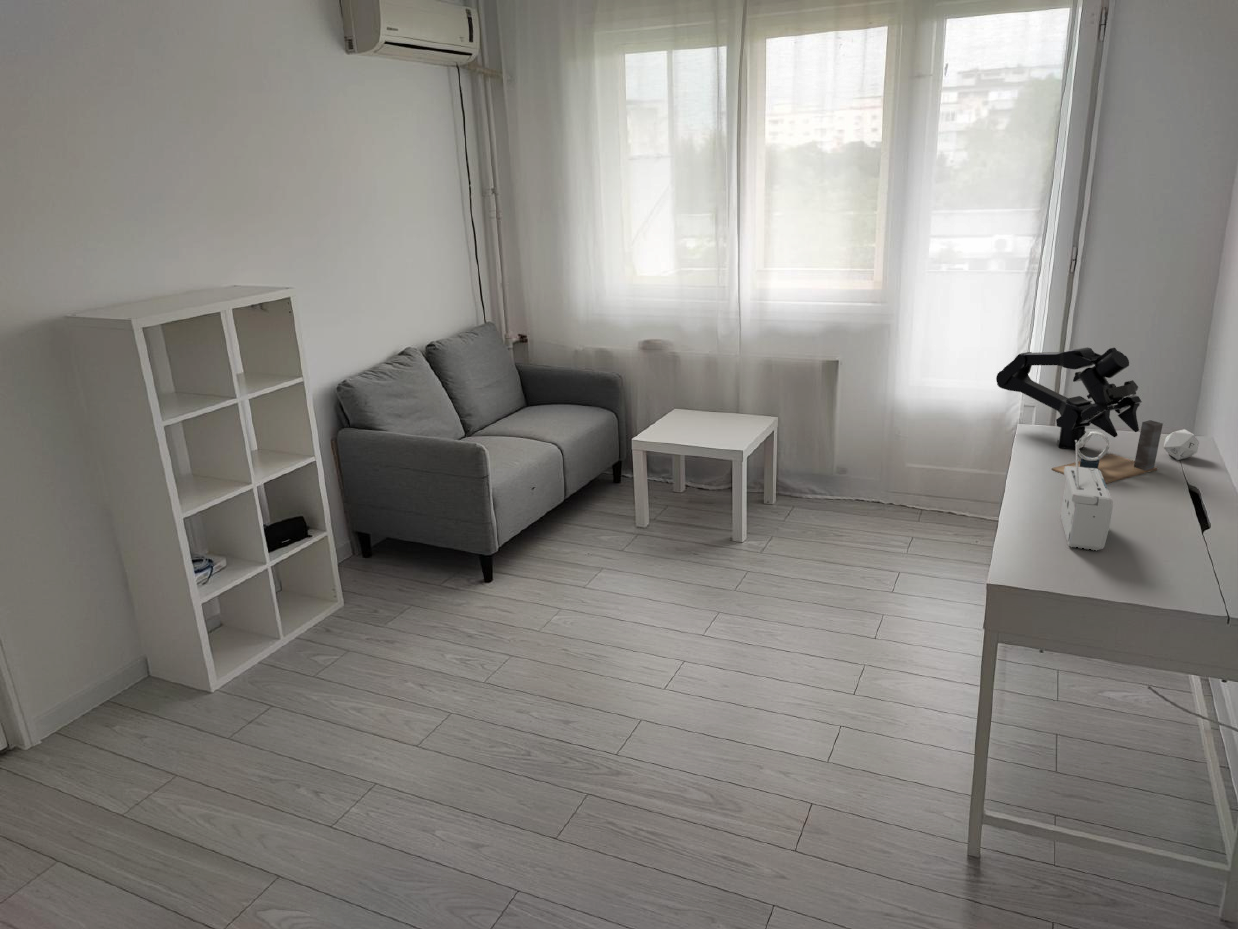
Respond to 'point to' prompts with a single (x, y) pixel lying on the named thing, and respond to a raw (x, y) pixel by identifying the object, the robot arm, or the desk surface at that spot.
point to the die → (1181, 444)
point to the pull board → (1124, 467)
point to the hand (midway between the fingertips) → (1126, 433)
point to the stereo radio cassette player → (1085, 507)
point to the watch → (1086, 460)
